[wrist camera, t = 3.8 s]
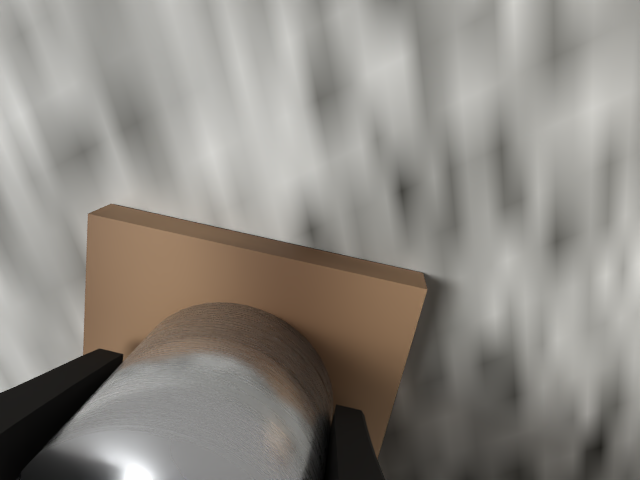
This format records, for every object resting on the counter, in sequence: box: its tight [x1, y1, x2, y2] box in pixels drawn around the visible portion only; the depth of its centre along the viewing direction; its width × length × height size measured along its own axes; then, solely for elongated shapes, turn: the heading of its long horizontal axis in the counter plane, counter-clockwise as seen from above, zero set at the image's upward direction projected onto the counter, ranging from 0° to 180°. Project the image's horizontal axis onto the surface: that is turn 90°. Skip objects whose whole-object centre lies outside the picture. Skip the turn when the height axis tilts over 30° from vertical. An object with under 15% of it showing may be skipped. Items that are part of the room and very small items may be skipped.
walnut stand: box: [83, 204, 427, 459], centre depth 12 cm, size 8×8×1 cm
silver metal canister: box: [16, 302, 333, 480], centre depth 10 cm, size 5×5×4 cm
